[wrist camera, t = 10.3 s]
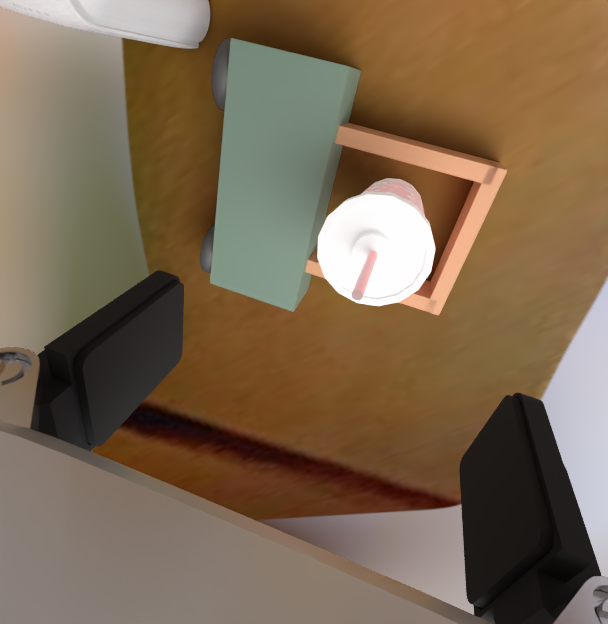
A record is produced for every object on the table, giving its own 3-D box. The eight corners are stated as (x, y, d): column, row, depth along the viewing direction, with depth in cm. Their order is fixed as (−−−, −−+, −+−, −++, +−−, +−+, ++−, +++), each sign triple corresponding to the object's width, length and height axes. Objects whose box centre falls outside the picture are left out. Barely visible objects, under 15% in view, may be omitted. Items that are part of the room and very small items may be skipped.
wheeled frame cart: (244, 42, 25) (214, 33, 22) (523, 110, 23) (539, 112, 19) (221, 261, 34) (198, 279, 30) (424, 328, 31) (422, 356, 28)
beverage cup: (449, 229, 27) (461, 329, 15) (371, 265, 30) (331, 373, 18) (411, 147, 25) (391, 191, 14) (332, 194, 28) (260, 263, 16)
